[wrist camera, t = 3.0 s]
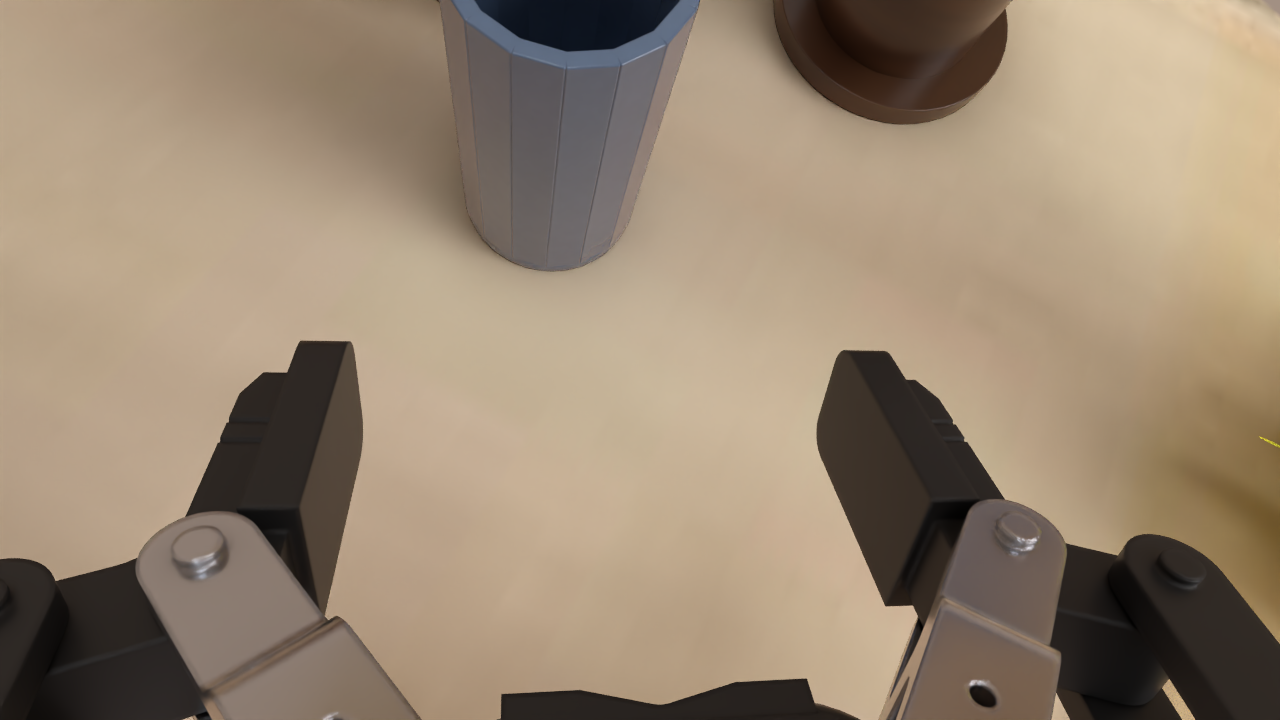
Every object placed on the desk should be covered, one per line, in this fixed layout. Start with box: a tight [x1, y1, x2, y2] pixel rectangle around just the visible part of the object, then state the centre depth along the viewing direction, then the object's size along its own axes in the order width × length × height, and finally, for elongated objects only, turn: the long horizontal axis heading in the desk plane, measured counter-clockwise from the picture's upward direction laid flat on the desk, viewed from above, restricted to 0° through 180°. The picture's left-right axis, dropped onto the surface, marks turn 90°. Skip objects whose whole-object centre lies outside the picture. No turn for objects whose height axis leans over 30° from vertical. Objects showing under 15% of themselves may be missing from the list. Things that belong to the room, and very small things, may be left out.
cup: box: [439, 0, 700, 271], centre depth 24 cm, size 6×6×12 cm
